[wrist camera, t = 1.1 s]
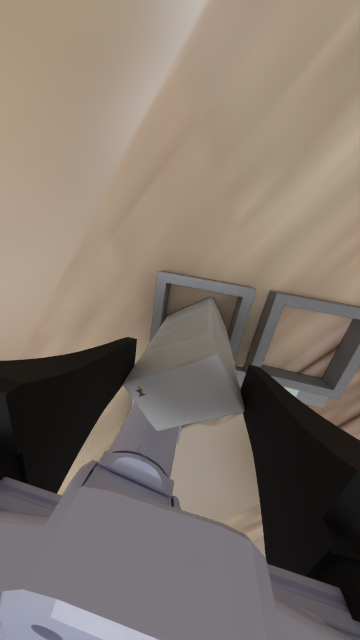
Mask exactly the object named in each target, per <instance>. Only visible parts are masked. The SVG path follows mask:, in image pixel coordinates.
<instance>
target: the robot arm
mask: <svg viewBox="0 0 360 640" xmlns="http://www.w3.org/2000/svg"><path fill="white" fill-rule="evenodd" d="M136 343H137V339H134V338H130V337H126V338H123V339H119V340H116V341H113V342H110V343H107V344H104V345H101V346H98V347H94V348H91V349H87V350H84V351H80V352H75V353H70V354H65V355H59V356H52V357H46V358H37V359H26V360H13V361H12V360H11V361H0V640H360V440H358V439H356V438H355V437H353V436H351V435H350V434H348V433H347V432H345V431H343V430H342V429H340V428H338V427H337V426H335V425H334V424H332V423H331V422H329V421H328V420H326V419H325V418H323V417H322V416H320V415H319V414H317V413H316V412H315V411H313V410H312V409H310V408H309V407H308V406H306V405H305V404H304V403H302V402H301V401H300V400H299V399H297V398H296V397H295V396H294V395H292V394H291V393H290V392H289V391H287V390H286V389H285V388H284V387H283V386H282V385H280V384H279V383H278V382H277V381H276V380H275V379H274V378H272V377H271V376H270V375H269V374H268V373H267V372H265V371H264V370H263V369H262V368H260V367H258V366H254V365H249V366H248V369H247V372H246V374H245V377H244V380H243V383H242V386H241V389H240V390H241V394H242V398H243V402H244V407H245V411H244V412H243V415H244V419H245V423H246V427H247V431H248V434H249V439H250V443H251V447H252V451H253V456H254V462H255V469H256V476H257V483H258V489H259V498H260V506H261V515H262V524H263V533H264V543H265V554H266V558H265V557H264V556H263V555H262V553H261V552H260V551H259V550H258V549H257V547H256V546H255V545H254V544H253V543H252V541H251V540H250V539H249V538H248V537H247V536H246V535H245V534H243V533H241V532H239V531H237V530H235V529H233V528H231V527H229V526H227V525H225V524H223V523H221V522H218V521H214V520H211V519H208V518H205V517H202V516H199V515H196V514H192V513H189V512H186V511H183V510H181V508H180V504H179V500H178V498H177V497H175V496H172V491H173V486H174V481H173V480H171V479H170V476H171V470H172V464H173V459H174V453H175V448H176V444H178V440H179V436H180V432H181V428H182V426H177V427H173V428H169V429H164V430H160V431H156V430H155V428H154V427H153V426H152V425H151V423H150V422H149V420H148V419H147V418H146V416H145V415H144V413H143V412H142V410H141V409H140V407H139V406H138V405H137V403H136V402H135V400H134V399H133V397H132V406H131V410H130V412H129V414H128V416H127V418H126V419H125V421H124V423H123V425H122V427H121V429H120V431H119V432H118V434H117V436H116V438H115V440H114V442H113V444H112V445H111V447H110V449H109V451H105V452H104V454H103V456H102V457H101V459H100V461H99V463H98V462H97V461H95V460H92V461H90V462H89V463H87V464H85V465H84V466H82V467H81V468H80V469H79V471H78V472H77V473H76V475H75V476H74V477H73V479H72V480H71V482H70V483H69V485H68V487H67V488H66V490H65V491H64V493H63V495H59V494H57V492H58V490H59V489H60V487H61V485H62V483H63V481H64V479H65V477H66V475H67V473H68V471H69V470H70V468H71V466H72V464H73V462H74V460H75V459H76V457H77V455H78V453H79V451H80V450H81V448H82V446H83V444H84V443H85V441H86V439H87V437H88V436H89V434H90V432H91V430H92V429H93V427H94V425H95V424H96V422H97V420H98V419H99V417H100V416H101V414H102V412H103V411H104V409H105V408H106V407H107V405H108V404H109V403H110V401H111V400H112V399H113V397H114V396H115V395H116V393H117V392H118V391H119V389H120V388H121V387H122V385H123V383H124V381H125V380H126V378H127V377H128V375H129V373H130V372H131V370H132V369H133V367H134V365H135V354H136Z"/></svg>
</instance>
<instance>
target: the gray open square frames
mask: <svg viewBox="0 0 360 640" xmlns="http://www.w3.org/2000/svg"><path fill="white" fill-rule="evenodd" d="M170 284H176V285H181V286H186V287H191V288H197V289H202V290H207V291H212V292H218V293H223V294H228V295H233V296H239V298H238V302H237V305H236V309H235V312H234V316H233V320H232V323H231V327H230V330H229V334H228V338H229V343H230V347H231V351H232V356H233V360H234V359H235V356H236V353H237V350H238V346H239V343H240V340H241V337H242V334H243V330H244V327H245V324H246V321H247V318H248V314H249V311H250V308H251V305H252V301H253V298H254V295H255V292H256V289H254V288H252V287H249V286H243V285H238V284H232V283H227V282H222V281H216V280H211V279H205V278H200V277H194V276H189V275H183V274H178V273H173V272H167V271H158V277H157V285H156V293H155V302H154V310H153V318H152V327H151V335H150V342H151V340H152V339H153V337H154V336H155V334H156V333H157V331H158V330H159V328H160V326H161V325H162V323H163V322H164V320H165V313H166V306H167V299H168V292H169V286H170ZM284 305H286V306H291V307H296V308H302V309H307V310H312V311H317V312H323V313H328V314H333V315H338V316H344V317H349V318H354V319H353V321H352V323H351V325H350V327H349V328H348V330H347V332H346V334H345V336H344V338H343V340H342V342H341V344H340V346H339V348H338V349H337V351H336V353H335V355H334V357H333V359H332V361H331V363H330V365H329V367H328V368H327V370H326V372H325V374H324V376H323V378H322V379H321V378H316V377H312V376H307V375H303V374H299V373H294V372H290V371H285V370H281V369H276V368H272V367H268V366H263V365H262V363H263V360H264V358H265V355H266V352H267V350H268V347H269V344H270V342H271V339H272V336H273V334H274V331H275V328H276V326H277V323H278V320H279V318H280V315H281V312H282V310H283V307H284ZM249 365H254V366H258V367H260V368H262V369H263V370H264V371H265V372H267V373H268V374H269V375H270V376H271V377H272V378H274V379H275V380H276V381H277V382H278V383H279V384H280V385H282V386H283V387H284V388H285V389H286V390H287V391H289V392H290V393H291V394H292V395H294V396H295V397H296V398H297V399H299V400H300V401H301V402H302V403H305V404H309V405H313V406H317V407H321V408H323V407H324V405H325V403H326V401H327V400H328V398H329V397H330V398H334V399H338V400H339V399H340V397H341V396H342V394H343V392H344V391H345V389H346V387H347V385H348V384H349V382H350V380H351V379H352V377H353V375H354V374H355V372H356V370H357V369H358V367H359V365H360V307H357V306H352V305H347V304H341V303H336V302H330V301H325V300H319V299H314V298H309V297H303V296H298V295H292V294H287V293H281V292H276V291H270V293H269V296H268V298H267V301H266V304H265V307H264V310H263V313H262V316H261V319H260V322H259V325H258V328H257V331H256V334H255V337H254V340H253V343H252V346H251V349H250V352H249V355H248V358H247V361H246V364H245V366H244V368H240V367H236V366H235V368H236V373H237V377H238V381H239V386H240V388H241V386H242V383H243V380H244V377H245V374H246V372H247V369H248V366H249Z"/></svg>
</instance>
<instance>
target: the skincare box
mask: <svg viewBox="0 0 360 640" xmlns="http://www.w3.org/2000/svg"><path fill="white" fill-rule="evenodd" d="M123 385H124V386H125V388H126V389H127V390H128V392H129V393H130V395H131V396H132V397H133V399H134V400H135V402H136V403H137V405H138V406H139V407H140V409H141V410H142V412H143V413H144V415H145V416H146V418H147V419H148V420H149V422H150V423H151V425H152V426H153V427H154V428H155V430H156V431H160V430H164V429H169V428H173V427H177V426H182V425H186V424H191V423H196V422H201V421H205V420H210V419H214V418H219V417H224V416H228V415H233V414H238V413H243V412H244V411H245V407H244V402H243V398H242V394H241V390H240V386H239V381H238V377H237V373H236V368H235V364H234V360H233V356H232V351H231V347H230V343H229V338H228V334H227V329H226V326H225V324H224V321H223V319H222V317H221V314H220V312H219V310H218V307H217V305H216V303H215V300H214V298H213V297H209V298H207V299H205V300H202V301H200V302H198V303H196V304H193V305H191V306H189V307H186V308H184V309H182V310H180V311H177V312H175V313H173V314H170V315H168V316H167V317H166V319H165V320H164V322H163V323H162V325H161V326H160V328H159V330H158V331H157V333H156V334H155V336H154V337H153V339H152V340H151V342H150V343H149V345H148V346H147V348H146V349H145V351H144V352H143V354H142V355H141V357H140V358H139V360H138V361H137V363H136V364H135V366H134V367H133V369H132V370H131V372H130V373H129V375H128V377H127V378H126V380H125V381H124V383H123Z"/></svg>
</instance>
